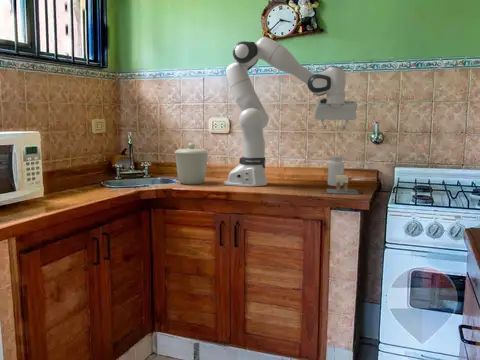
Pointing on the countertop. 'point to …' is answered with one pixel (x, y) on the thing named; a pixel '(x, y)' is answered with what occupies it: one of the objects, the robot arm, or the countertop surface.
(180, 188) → the countertop surface
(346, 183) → the stool
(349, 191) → the mat
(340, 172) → the pill bottle
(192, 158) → the canister
